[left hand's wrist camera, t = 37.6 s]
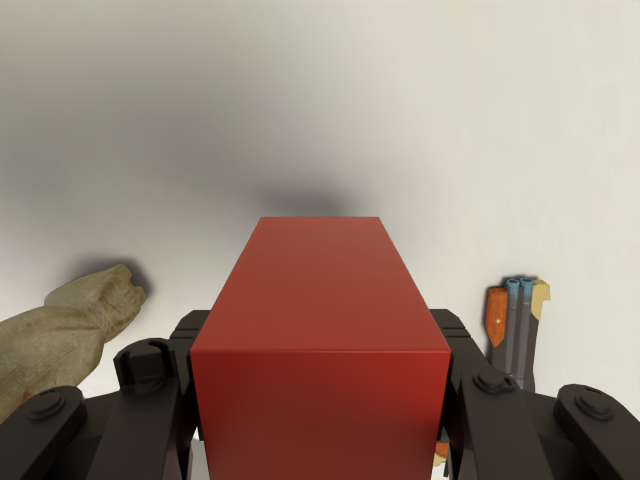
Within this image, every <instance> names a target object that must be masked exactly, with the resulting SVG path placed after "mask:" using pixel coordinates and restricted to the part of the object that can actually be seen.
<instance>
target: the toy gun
mask: <svg viewBox="0 0 640 480" xmlns="http://www.w3.org/2000/svg"><path fill="white" fill-rule="evenodd" d="M543 300H550V287H549V285H547V284H546V282H544V281H543V280H532V279H530V278H521V279H520V280H519V281H518V280H515V279H509V280H507V283H505V284H504V288H493V289H490V290H489V295H488V303H487V312H486V323H485V329H486V331H487V334H488V336H489V338H490V340H491V343H492V356H491V362H490V366H492V367H496V368H498V369H500V370H502V371H504V372H506V373H507V374H508V375H510V376H511V377H512V378H513V379H515V381H516V382H517V384H518V385H519V387H520V389H522V390H526V391H529V392H533V393H535V382H534V375H533V363H534V354H535V345H536V337H537V330H538V324H539V321H540V314H541V308H542V301H543ZM448 446H449V438H448V435H447V433H446V430H445V429H443V430H442V436H441V441H437V443H436V449H435V456H434V462H433V466H439V465H440V464H441V463H443V462H446V457H447V452H448Z"/></svg>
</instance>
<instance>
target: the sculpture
mask: <svg viewBox="0 0 640 480" xmlns="http://www.w3.org/2000/svg"><path fill="white" fill-rule="evenodd" d="M131 277H132V274H131V272H130V271H129V269H128V268H127V267H126V266H125V265H124V264H119V265H116V266H114V267H112V268H110V269H108V270H105V271H101V272H96V273H92V274H89V275H86V276H84V277H81V278H79V279H76V280H74V281H72V282H69V283H67V284H65V285H63V286H61V287H59V288H57V289H55V290H54V291H52V292H51V293H49V294H48V295H47V297H46V298H45V300H44V306H41V307H38V308H35V309H32V310H29V311H26V312H24V313H21V314H19V315H16V316H14V317H11V318H9V319H7V320H4V321H2V322H0V424H1V423H2V422H3V421H4V420H5V419H6V418H7V417H8V416H9V415H10V414H11V413H12V412H13V411H14V410H15V409H16V408H17V407H19V406H20V405H21V404H22V403H24V402H25V401H26V400H27V399H29V398H30V397H32V396H34V395H36V394H38V393H40V392H41V391H44V390H47V389H50V388H53V387H57V386H65V385H69V386H75V387H77V386H78V385H79V384H80V383H81V382H82V381H83V380H84V379H85V378H86V377H87V376H88V375H89V374H90V373H91V372H92V371H93V370H94V369H95V368H96V367H97V366H98V365H99V362H100V359H101V357H102V352H103V347H104V344H105V343H107V342H109V341H110V340H112V339H113V338H115V337H116V336H117V335H119V334H120V333H121V332H122V331H123V330H124V329H125V328H126V327H127V326H128V325H129V324H130V323H131V322H132V321H133V319H134V318H135V317H136V316H137V314H138V313H139V311H140V309H141V305H142V304H143V303H144V301H145V300H146V299H147V295H146V293H145V292H144V290H143V288H142V287H141V286H133V285H132V284H131V282H130V280H131Z"/></svg>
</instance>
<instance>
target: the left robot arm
mask: <svg viewBox="0 0 640 480" xmlns="http://www.w3.org/2000/svg"><path fill="white" fill-rule="evenodd" d="M241 254H242V253H241ZM240 256H241V255H240ZM239 258H240V257H239ZM403 263H404V262H403ZM404 265H405V264H404ZM234 267H235V266H234ZM233 269H234V268H233ZM232 271H233V270H232ZM231 273H232V272H231ZM409 274H410V273H409ZM410 276H411V275H410ZM227 280H228V279H227ZM226 282H227V281H226ZM225 284H226V283H225ZM224 286H225V285H224ZM416 287H417V286H416ZM221 291H222V290H221ZM220 293H221V292H220ZM219 295H220V294H219ZM218 297H219V296H218ZM217 299H218V298H217ZM423 300H424V299H423ZM214 304H215V303H214ZM213 306H214V305H213ZM212 308H213V307H212ZM211 310H212V309H211ZM211 310H193V311H191V312H190V313H189V314H187V315H186V316H185V317H183V318H182V319H181V320H180V322H179V323H178V325H177V326H176V328H175V331H173V333H172V334H171V336H170V339H168V340H167V339H163V338H148V339H144V340H140V341H137V342H135V343H132V344H130V345H128V346H126V347H125V348H124V349H122V350H121V351H119V352H118V354H117V355H116V356H115V358H114V359H113V361H114V365H115V369H116V373H117V377H118V381H119V385H120V390H119V391H116V392H113V393H109V394H105V395H101V396H96V397H92V398H87V399H84V397H83V394H82V391H81V390H80V389H78V388H77V387H75V386H69V385H65V386H57V387H53V388H50V389H47V390H44V391H41V392H40V393H38V394H36V395H34V396H32V397H30V398H29V399H27V400H26V401H25V402H24V403H22V404H21V405H20V406H19V407H17V408H16V409H15V410H14V411H13V412H12V413H11V414H10V415H9V416H8V417H7V418H6V419H5V420H4V421H3V422H2V423H1V424H0V480H191V472H192V461H193V452H192V446H191V440H192V438H193V435H194V433H195V430H196V427H197V429H198V435H199V441H204V439H203V433H202V426H201V420H200V414H199V407H198V401H197V395H196V388H195V382H194V376H193V369H192V363H191V357H190V349H191V347H192V345H193V343H194V341H195V340H196V338H197V336H198V334H199V332H200V330H201V328H202V327H203V325H204V323H205V321H206V319H207V317H208V315H209V314H210V312H211ZM429 311H430V312H431V314H432V316H433V318H434V320H435V322H436V323H437V325H438V327H439V329H440V331H441V333H442V335H443V336H444V338H445V340H446V342H447V344H448V346H449V347H450V349H451V355H450V361H449V367H448V374H447V380H446V386H445V393H444V399H443V405H442V412H441V418H440V424H439V430H438V437H437V441H441V436H442V430H443V425H444V428H445V430H446V433H447V435H448V438H449V446H448V452H447V457H446V463H445V469H444V475H443V477H448V474H449V480H640V422H639V421H638V420H637V419H636V418H635V417H634V416H633V415H632V414H631V413H630V412H629V411H628V410H627V409H626V408H625V407H624V406H623V405H622V404H620V403H619V402H618V401H617V400H615V399H614V398H613V397H611V396H609V395H608V394H606V393H604V392H602V391H600V390H598V389H595V388H592V387H589V386H586V385H579V384H569V385H564V386H563V387H562V388H561V389H559V392H558V395H557V398H555V397H550V396H546V395H542V394H537V393H533V392H529V391H526V390H522V389H520V387H519V385H518V384H517V382H516V381H515V379H513V378H512V377H511V376H510V375H508V374H507V373H506V372H504V371H502V370H500V369H498V368H496V367H492V366H490V364H489V363H488V361H487V360H486V358H485V357H484V355H483V354H482V352H481V350H480V349H479V347H478V346H477V344H476V343H475V341H474V340H473V338H471V335H470V334H469V332H468V331H467V330H466V329H465V326H464V325H463V323H462V322H461V320H460V319H459V317H457V316H456V315H454V314H453V313H452V312H450V311H449V310H448V309H429Z"/></svg>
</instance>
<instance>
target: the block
mask: <svg viewBox="0 0 640 480" xmlns="http://www.w3.org/2000/svg"><path fill="white" fill-rule="evenodd" d="M450 355H451V349H450V347H449V346H448V344H447V342H446V340H445V338H444V336H443V335H442V333H441V331H440V329H439V327H438V325H437V323H436V322H435V320H434V318H433V316H432V314H431V312H430V311H429V309H428V307H427V305H426V303H425V301H424V300H423V298H422V296H421V294H420V292H419V290H418V288H417V287H416V285H415V283H414V281H413V279H412V277H411V276H410V274H409V272H408V270H407V268H406V266H405V265H404V263H403V261H402V259H401V257H400V255H399V253H398V252H397V250H396V248H395V246H394V244H393V242H392V241H391V239H390V237H389V235H388V233H387V231H386V230H385V228H384V226H383V224H382V222H381V220H380V218H379V217H261V218H260V220H259V222H258V224H257V226H256V228H255V230H254V232H253V233H252V235H251V237H250V239H249V241H248V243H247V245H246V246H245V248H244V250H243V252H242V254H241V256H240V258H239V259H238V261H237V263H236V265H235V267H234V269H233V271H232V273H231V274H230V276H229V278H228V280H227V282H226V284H225V286H224V287H223V289H222V291H221V293H220V295H219V297H218V299H217V300H216V302H215V304H214V306H213V308H212V310H211V312H210V314H209V315H208V317H207V319H206V321H205V323H204V325H203V327H202V328H201V330H200V332H199V334H198V336H197V338H196V340H195V341H194V343H193V345H192V347H191V349H190V357H191V363H192V369H193V376H194V382H195V388H196V395H197V401H198V407H199V414H200V420H201V426H202V433H203V439H204V445H205V452H206V458H207V464H208V471H209V477H210V480H431V474H432V468H433V462H434V456H435V449H436V443H437V437H438V430H439V424H440V418H441V412H442V405H443V399H444V393H445V386H446V380H447V374H448V367H449V361H450Z"/></svg>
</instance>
